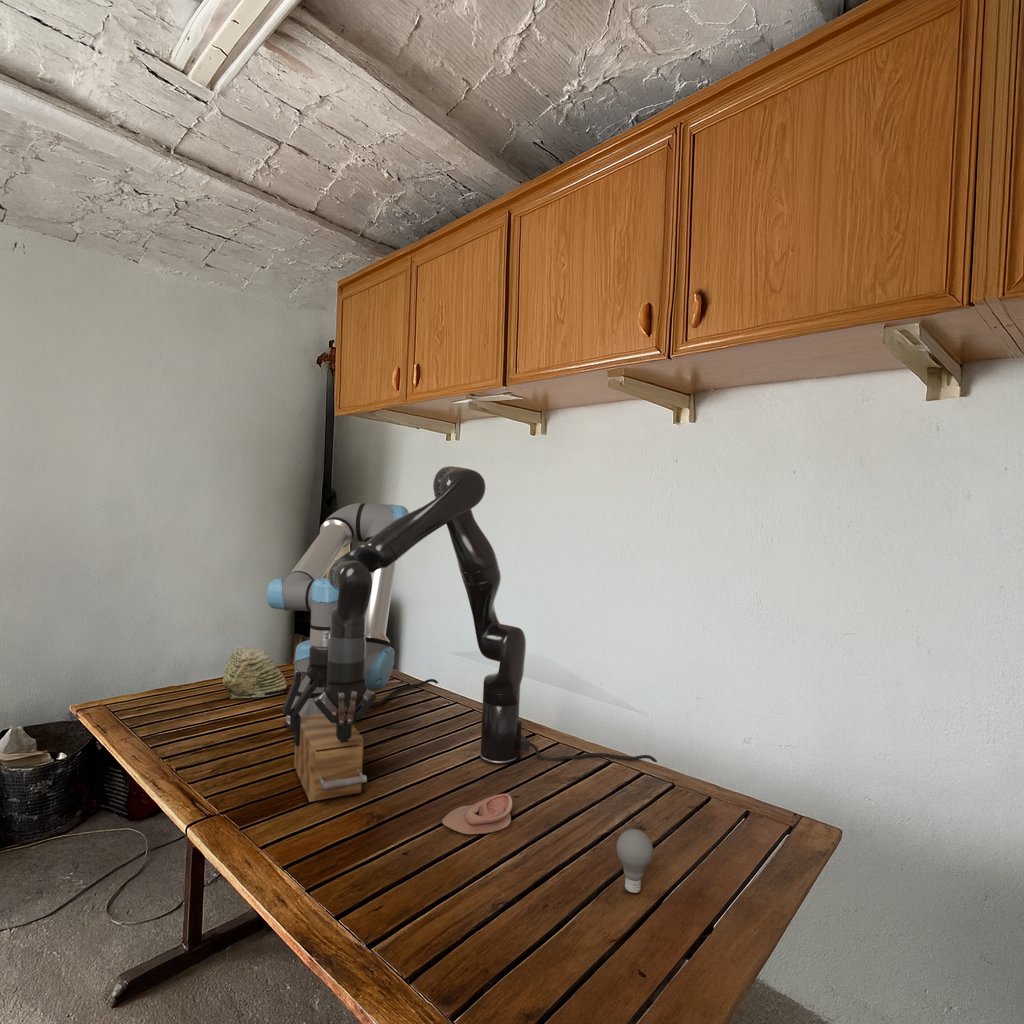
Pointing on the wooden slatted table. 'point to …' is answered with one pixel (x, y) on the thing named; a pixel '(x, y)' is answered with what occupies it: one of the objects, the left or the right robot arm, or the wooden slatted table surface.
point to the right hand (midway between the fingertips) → (343, 740)
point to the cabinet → (318, 747)
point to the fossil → (252, 674)
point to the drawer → (338, 772)
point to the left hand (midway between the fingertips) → (322, 740)
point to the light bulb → (634, 857)
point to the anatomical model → (481, 816)
